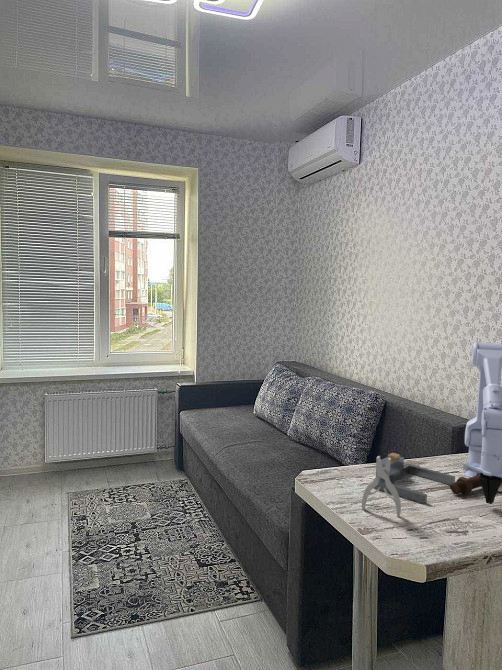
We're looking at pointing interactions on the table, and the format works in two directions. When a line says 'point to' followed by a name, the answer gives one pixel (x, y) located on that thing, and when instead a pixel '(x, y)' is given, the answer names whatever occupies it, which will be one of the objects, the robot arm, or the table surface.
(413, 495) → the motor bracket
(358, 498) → the table surface
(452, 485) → the bolt
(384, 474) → the pliers
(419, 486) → the table surface
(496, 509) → the table surface
